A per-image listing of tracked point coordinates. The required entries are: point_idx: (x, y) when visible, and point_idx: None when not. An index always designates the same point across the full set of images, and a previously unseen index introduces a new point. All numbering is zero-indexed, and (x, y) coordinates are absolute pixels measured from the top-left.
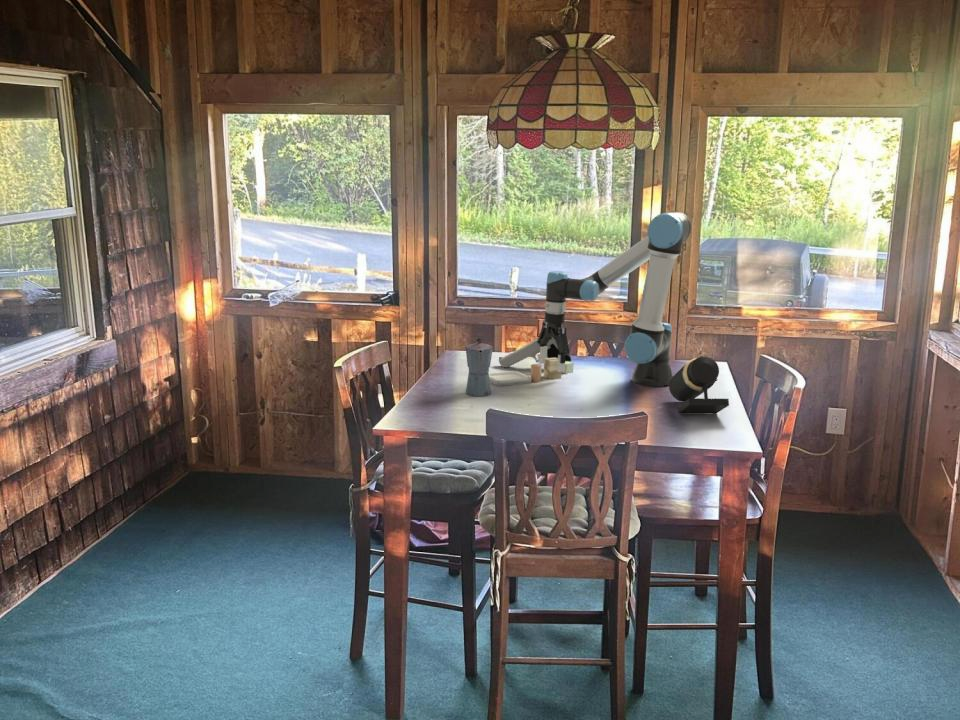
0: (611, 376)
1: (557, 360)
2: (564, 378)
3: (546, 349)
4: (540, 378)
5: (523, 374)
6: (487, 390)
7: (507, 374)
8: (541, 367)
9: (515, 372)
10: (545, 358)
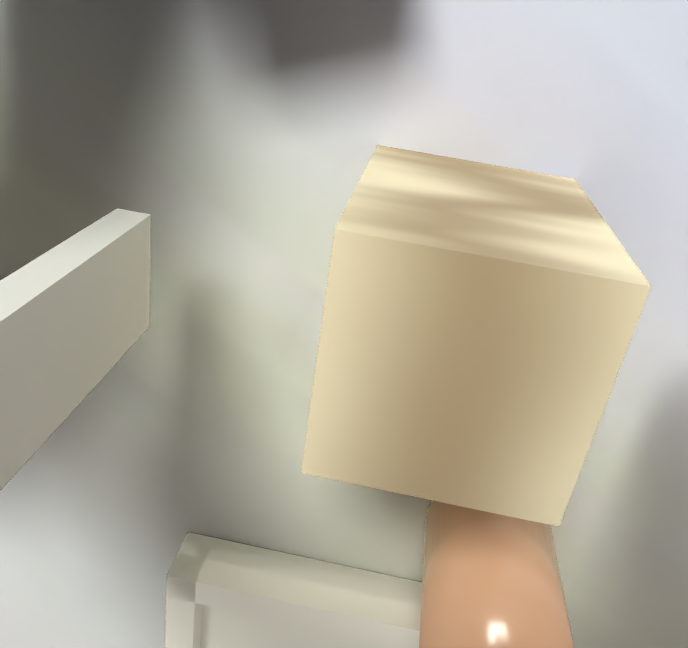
0: None
1: (592, 383)
2: (625, 153)
3: (3, 341)
4: (553, 542)
5: (360, 627)
6: None
7: (199, 642)
8: (563, 646)
9: (204, 593)
10: (308, 452)
